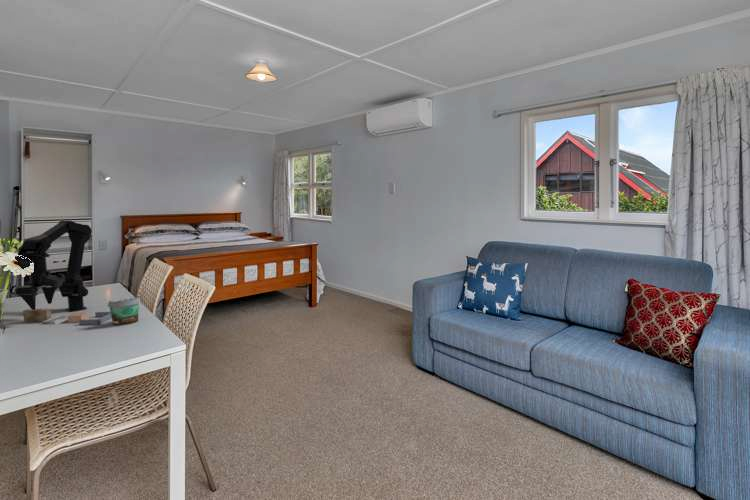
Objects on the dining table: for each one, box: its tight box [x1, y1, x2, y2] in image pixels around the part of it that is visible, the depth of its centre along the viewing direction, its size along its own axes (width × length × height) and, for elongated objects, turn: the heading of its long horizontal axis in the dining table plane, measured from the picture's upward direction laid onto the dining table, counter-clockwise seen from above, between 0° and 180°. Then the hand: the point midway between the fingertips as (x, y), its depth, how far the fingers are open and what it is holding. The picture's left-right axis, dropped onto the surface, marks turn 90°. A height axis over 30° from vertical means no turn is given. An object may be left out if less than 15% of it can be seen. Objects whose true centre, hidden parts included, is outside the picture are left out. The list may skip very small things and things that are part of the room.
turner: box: [22, 308, 69, 325], centre depth 172 cm, size 14×8×5 cm, turn 94°
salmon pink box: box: [67, 311, 89, 324], centre depth 173 cm, size 5×5×3 cm
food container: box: [107, 295, 141, 326], centre depth 170 cm, size 12×6×10 cm, turn 148°
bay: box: [78, 311, 112, 326], centre depth 174 cm, size 8×12×2 cm, turn 4°
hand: (41, 306), depth 172 cm, fingers open, 9 cm apart
